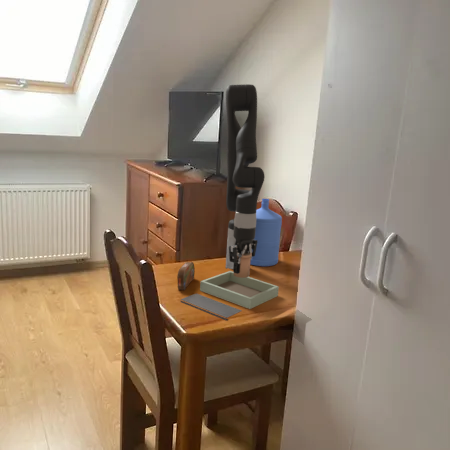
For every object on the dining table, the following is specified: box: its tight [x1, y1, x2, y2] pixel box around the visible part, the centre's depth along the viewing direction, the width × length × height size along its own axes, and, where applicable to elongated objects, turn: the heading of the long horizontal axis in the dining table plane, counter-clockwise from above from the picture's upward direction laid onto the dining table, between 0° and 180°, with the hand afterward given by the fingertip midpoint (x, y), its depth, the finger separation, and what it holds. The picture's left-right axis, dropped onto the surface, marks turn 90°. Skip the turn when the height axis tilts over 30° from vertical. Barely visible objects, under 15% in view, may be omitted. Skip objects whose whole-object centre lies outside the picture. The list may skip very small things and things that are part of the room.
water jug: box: [250, 198, 283, 267], centre depth 209 cm, size 16×16×28 cm
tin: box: [176, 261, 196, 291], centre depth 176 cm, size 15×3×8 cm, turn 168°
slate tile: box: [180, 293, 243, 322], centre depth 159 cm, size 8×20×1 cm, turn 51°
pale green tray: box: [199, 270, 280, 310], centre depth 171 cm, size 17×22×4 cm
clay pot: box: [234, 252, 252, 278], centre depth 169 cm, size 6×6×8 cm
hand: (241, 270), depth 170 cm, fingers closed on clay pot, 5 cm apart
